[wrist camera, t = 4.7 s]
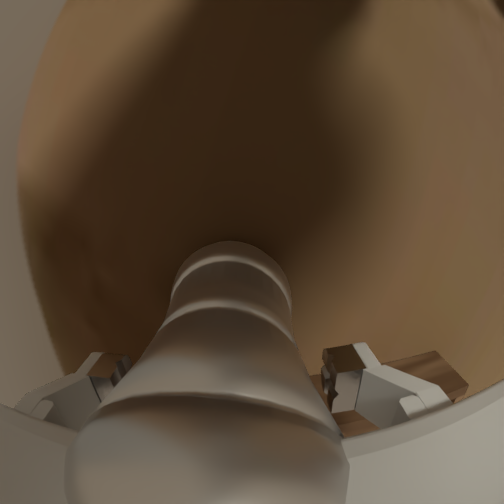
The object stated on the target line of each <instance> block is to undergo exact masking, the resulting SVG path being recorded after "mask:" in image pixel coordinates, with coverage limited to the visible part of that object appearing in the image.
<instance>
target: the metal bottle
mask: <svg viewBox="0 0 504 504" xmlns="http://www.w3.org/2000/svg"><path fill="white" fill-rule="evenodd" d="M291 315H292V299H291V289H290V285H289V282H288V279H287V277H286V275H285V274H284V272H283V270H282V268H281V267H280V266H279V265H278V264H277V263H276V261H275V260H274V259H273V258H271V257H270V256H269V255H267V254H266V253H265V252H263V251H262V250H260V249H259V248H257V247H255V246H252V245H250V244H247V243H243V242H239V241H222V242H216V243H213V244H210V245H207V246H204V247H202V248H201V249H199V250H197V251H195V252H194V253H193V254H191V255H190V256H189V257H188V258H187V259H186V260H185V261H184V262H183V264H182V265H181V267H180V268H179V270H178V272H177V275H176V277H175V280H174V283H173V287H172V292H171V298H170V305H169V308H168V310H167V313H166V316H165V319H164V322H163V324H162V326H161V327H160V328H159V330H158V331H157V333H156V335H155V336H154V338H153V339H152V341H151V342H150V344H149V345H148V347H147V348H146V350H145V351H144V353H143V354H142V356H141V358H140V359H139V360H138V361H137V362H136V363H135V365H134V366H133V367H132V368H131V369H130V370H129V371H128V372H127V374H126V375H125V376H124V377H123V378H122V379H121V380H120V382H119V383H118V384H117V385H116V386H115V387H114V389H113V390H112V391H111V392H110V393H109V394H108V395H107V397H106V398H105V399H104V400H103V401H102V402H101V403H100V405H99V406H98V407H97V409H96V410H95V412H94V413H92V414H91V415H90V416H89V417H88V419H87V420H86V422H85V423H84V425H83V426H82V428H81V430H80V431H79V432H78V434H77V435H76V437H75V438H74V439H73V441H72V442H71V444H70V446H69V447H68V449H67V451H66V456H65V468H64V492H65V495H66V498H67V501H68V504H345V503H346V496H347V489H348V481H349V472H350V464H349V462H348V460H347V457H346V455H345V452H344V449H343V445H342V442H341V439H342V438H345V437H344V435H343V434H342V432H341V430H340V429H339V427H338V425H337V424H336V422H335V420H334V419H333V417H332V415H331V413H330V412H329V410H328V408H327V407H326V405H325V403H324V402H323V400H322V398H321V397H320V395H319V393H318V391H317V390H316V388H315V386H314V385H313V383H312V381H311V379H310V377H309V374H308V372H307V369H306V367H305V364H304V362H303V360H302V357H301V355H300V353H299V351H298V348H297V345H296V343H295V340H294V333H293V327H292V321H291Z"/></svg>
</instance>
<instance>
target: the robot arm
mask: <svg viewBox="0 0 504 504" xmlns="http://www.w3.org/2000/svg"><path fill="white" fill-rule="evenodd" d="M322 359H323V362H324V364H325V365H324V366H323V367H322V368H321V383H322V388H323V391H324V393H326V394H327V395H328V396H327V403H328V405H329V408H330V411H331V413H337V412H343V411H349V410H355V411H356V412H358V413H359V414H360V415H362V416H363V417H364V418H366V419H367V420H369V421H370V422H372V423H373V424H374V425H376V426H377V427H379V428H380V429H378V430H374V431H371V432H367V433H363V434H358V435H354V436H349V437H345V438H342V439H341V442H342V445H343V449H344V452H345V455H346V457H347V460H348V462H349V464H350V472H349V481H348V489H347V496H346V503H345V504H504V379H502V380H500V381H499V382H497V383H495V384H493V385H491V386H489V387H487V388H485V389H484V390H482V391H480V392H478V393H475V394H473V395H471V396H469V397H467V398H465V399H463V400H461V401H458V402H456V403H454V404H453V403H452V401H451V400H450V399H449V398H448V397H447V395H446V394H445V393H444V392H443V390H442V389H441V388H440V387H439V386H438V385H436V384H433V383H430V382H428V381H425V380H422V379H420V378H417V377H415V376H412V375H409V374H407V373H404V372H402V371H399V370H397V369H394V368H392V367H389V366H387V365H381V364H380V363H379V361H378V360H377V358H376V357H375V356H374V354H373V353H372V351H371V350H370V348H369V347H368V346H367V344H366V343H365V342H360V343H354V344H350V345H344V346H338V347H332V348H325V349H323V354H322ZM131 366H132V362H131V359H130V357H129V356H128V355H123V354H113V353H103V352H92V353H91V354H90V355H89V357H88V358H87V359H86V360H85V361H84V363H83V364H82V365H81V366H80V368H79V369H78V370H77V371H76V373H75V374H74V373H71V374H69V375H66V376H64V377H62V378H60V379H57V380H55V381H53V382H51V383H48V384H46V385H44V386H42V387H39V388H37V389H35V390H33V391H31V392H28V393H26V394H25V395H24V397H23V398H22V399H21V400H20V401H19V403H18V404H17V405H16V406H15V407H14V408H11V407H8V406H6V405H4V404H2V403H0V504H68V501H67V498H66V495H65V492H64V468H65V456H66V451H67V449H68V447H69V446H70V444H71V442H72V441H73V439H74V438H75V437H76V435H77V434H78V432H79V431H80V430H81V428H82V426H83V425H84V423H85V422H86V420H87V419H88V417H89V416H90V415H91V414H92V413H94V412H95V410H96V409H97V407H98V406H99V405H100V403H101V402H102V401H103V400H104V399H105V398H106V397H107V395H108V394H109V393H110V392H111V391H112V390H113V389H114V387H115V386H116V385H117V384H118V383H119V382H120V380H121V379H122V378H123V377H124V376H125V375H126V374H127V372H128V371H129V370H130V368H131Z"/></svg>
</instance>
